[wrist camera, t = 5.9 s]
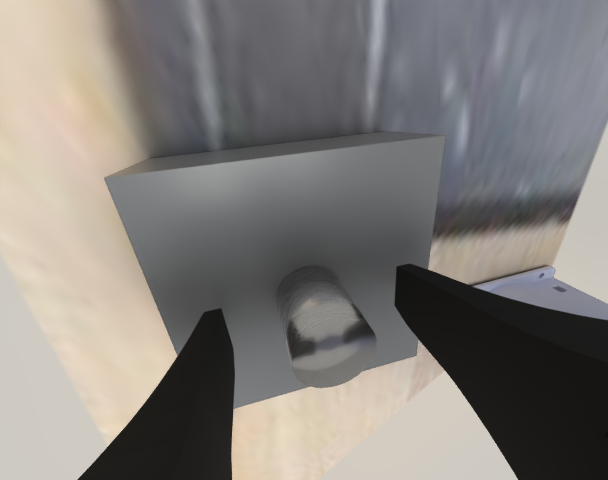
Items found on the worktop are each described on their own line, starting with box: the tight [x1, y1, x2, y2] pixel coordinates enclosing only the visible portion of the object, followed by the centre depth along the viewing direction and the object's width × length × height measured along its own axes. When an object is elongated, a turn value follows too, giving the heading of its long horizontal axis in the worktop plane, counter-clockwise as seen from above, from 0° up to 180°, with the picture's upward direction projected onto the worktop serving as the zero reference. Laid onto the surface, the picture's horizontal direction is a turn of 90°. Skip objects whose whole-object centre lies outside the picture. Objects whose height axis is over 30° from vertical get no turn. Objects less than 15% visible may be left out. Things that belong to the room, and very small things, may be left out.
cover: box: [104, 132, 446, 409], centre depth 12 cm, size 12×12×8 cm
